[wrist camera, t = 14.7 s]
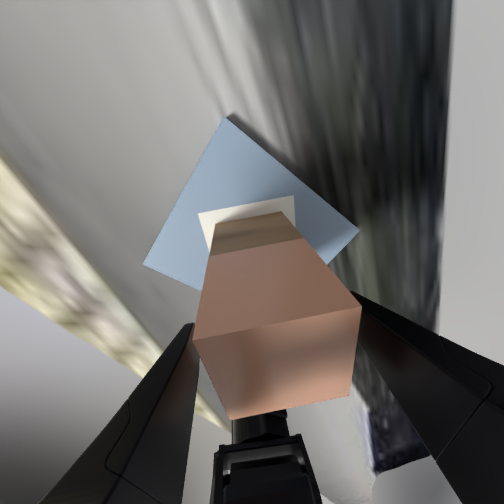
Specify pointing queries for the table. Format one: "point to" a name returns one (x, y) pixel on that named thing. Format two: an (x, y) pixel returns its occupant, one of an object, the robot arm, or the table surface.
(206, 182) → the board
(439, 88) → the table surface
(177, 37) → the table surface
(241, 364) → the terracotta block
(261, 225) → the walnut block
